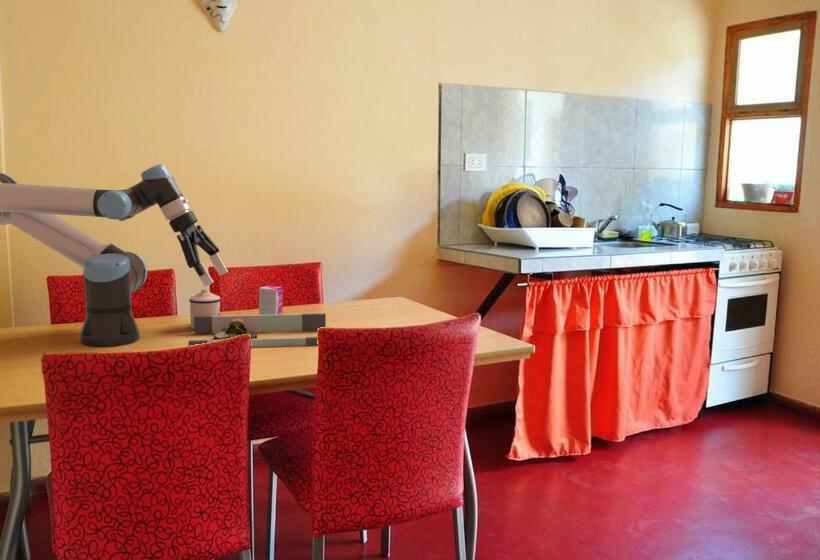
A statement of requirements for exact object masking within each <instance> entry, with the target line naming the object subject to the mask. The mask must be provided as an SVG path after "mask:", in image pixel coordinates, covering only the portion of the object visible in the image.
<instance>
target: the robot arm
mask: <svg viewBox="0 0 820 560" xmlns="http://www.w3.org/2000/svg"><path fill="white" fill-rule="evenodd" d="M140 176H141V179H142V180H141V181H140V182H138V183H137V184H134V185H132V186H130V187H128V188H125V189H119V190H117V189H116V190H115V189H98V188H83V187H70V186H69V187H67V186H55V185H54V186H51V185H40V184H37V185H35V184H23V183H20V184H19V183H17V181H16V180H15V179H14V178H12V177H11V176H10V175H8V174H5V173H2V172H0V225H2V226H5V225H12V226H14V227H15V228H17V229H18V230H20V231H22V232H23V233H25V234H26V235H28V236H30V237H32V238H33V239H35V240H36V241H39V242H40V243H41V244H42V245H45V246H47V247H48V248H50V249H51V250H54V251H55V252H56V253H58V254H60V255H62V256H63V257H65V259H68V260H69V261H71V262H73V263H74V264H76V265H78V266H80V267H81V268H82V270H83V271H82V274H83V282H84V284H83V286H84V297H85V298H84V301H85V316H84V317H85V318H84V320H83V322H82V323H83V324H82V328H81V330H80V333H79V338H80V340H79V341H80V344H82V345H84V346H88V347H89V346H91V347H114V346H116V347H117V346H123V345H128V344H131V343H134V342H136V341H138V340H139V339H140V329H139V327H138V324H137V321H136V319H135V317H134V314H133V311H132V309H133V308H132V293H135V292H136V291H138V290H139V289H140V288H141V287H142V285H144V283H145V282H146V280H147V276H148V268H147V265H146V264H147V263H146V262H145V261H144V259H143V258H142V257H141V256H139V254H137V253H134V252H131V251H125V250H122V248H120V247H118V246H116V245H115V244H112V243H106V244H103V243H102V242H100V241H98V240H97V239H95V238H93V237H92V236H89V235H88V234H87V233H85V232H84V231H81V230H80V229H79V228H77V227H75V226H74V225H72V224H70V223H69V222H67V221H66V220H64V219H63V218H61V217H58V215H60V216H76V217H92V218H93V217H94V218H95V217H96V218H105V219H109V220H118V221H120V222H125V221H126V220H129V219H132V218H134V216H135V217H136V216H137V215H138V214H140V213H142V212H144V211H145V210H147V209H149V208H151V207H154V206H155V205H158V207H159V209H160V210H161V212H162V215H163V216H164V218H165V219H166V221H169V222H168V225H169V226H170V227H171V230H172V231H173V232H174V233H179V234H177V235H176V239H177V240H178V242H179V244H180V247H181V249H182V250H181V251H182V253H183V255H184V258H185V261H186V265H187V267H188V268H190V269H192V268H193V269H194V271H195V273H196V274H197V276H198V278H199V280H200V281H201V282H202V284H203V286H204V287H208V286H210V285H211V284H213V283H214V280H213V279H212V277H211V275H210V273H209V272H208V270H207V268H206V266H205V265H204V263H203V262H201V260H200V255H199V251H198V250H199V249H198V247H199V248H200V249H202V250H203V251H204V252H205V253H206V254H207V255H208V257H209V261H210V262H211V263H212V265H213V267H214V268H215V270H216V272H217V273H218V275H219V277H221V276H223V275H225V274H226V273H228V272H229V271H228V268H227V267H226V265H225V264H224V262H223V260H222V258H221V257H220V255H219V252H220V248H219V247H218V246H217V245H216V244H215V242H214V241H213V240H212V239H211V238H210V237H209V235H208V233H206V232H205V231H204V229H203V228H202V226H201V225H200V224H198V225H195V224H196V223H197V222H198V218H197V216H196V214H195V212H193V211H192V210H190V209H191V207H190V205H189V203H188V199H187V198H185V196H184V195H183V192H182V191H181V190H180V187H179V186H178V184H177V182H176V181H175V178H174V176H173V175H172V174H171V172H170V171H169V169H168V167H167V166H166V165H165V164H162V163H159V164H156V165H154V166H151V167H149V168H147V169H146V170H144V171H142V172H141V174H140Z"/></svg>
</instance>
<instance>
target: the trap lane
mask: <svg viewBox="0 0 820 560" xmlns="http://www.w3.org/2000/svg"><path fill="white" fill-rule="evenodd" d="M326 317H327V316H326V313H322V312H321V313H291V314H290V313H285V314H284V313H282V314H275V315H259V314H236V315H232V314H230V315H220V316H194V329H193V330H194V334H195V335H200V334H201V335H202V334H203V335H204V334H206V335H207V334H210V333H211V334H216V333H218V332H221V330H222V328H224V327H225V329H227V328H229V323H230V321H232V320H234V319H241V320H243V321H244V323H245V326H244V327H245V328H247V329H248V331H253V332H255V333H278V332H279V333H281V332H315V331H316V332H317V329H318V328H320V327H326V328H327V326H326V323H327V322H326ZM223 326H224V327H223ZM317 337H318V336H308V337H307V336H303V337H302V336H299V337H268V338H267V337H266V338H265V337H263V338H257V339H254V338H252V347H251V348H260V347H261V348H263V347H264V348H265V347H294V346H296V347H297V346H318V345H317ZM213 341H219V339H215V340H214V339H197V340H196V339H195V340H191V339H190V340H188V347H189V346H190V345H195V344H202V343H207V342H213Z"/></svg>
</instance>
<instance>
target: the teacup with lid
mask: <svg viewBox="0 0 820 560" xmlns="http://www.w3.org/2000/svg"><path fill="white" fill-rule="evenodd" d="M220 301H221V296H219V295H216V294H214V293H212V292H209V289H207V288H202V289H201V290H200V292H198V293H196V294H195V295H191V296H190V297H189V300H188V302H189V306H190V308H189V309H190V311H189V314H190V315H189V317H190V327H191V329H193V330H194V316H221V302H220Z"/></svg>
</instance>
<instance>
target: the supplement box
mask: <svg viewBox="0 0 820 560" xmlns="http://www.w3.org/2000/svg"><path fill="white" fill-rule="evenodd" d="M283 287H284V286H275V285H264V286H261V287H259V288H258V289H259V290H258V292H259V293H258V294H259V295H258V297H259V299H258V315H275V314H283V302H284V301H283V297H284V295H283V292H284V291H283V290H284V289H283Z"/></svg>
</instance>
